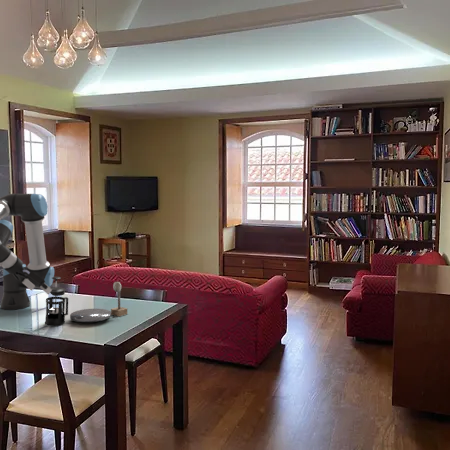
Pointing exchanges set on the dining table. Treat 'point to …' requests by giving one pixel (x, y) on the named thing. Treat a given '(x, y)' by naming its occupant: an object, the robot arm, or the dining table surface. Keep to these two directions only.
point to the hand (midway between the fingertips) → (41, 290)
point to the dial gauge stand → (119, 310)
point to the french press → (55, 314)
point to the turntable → (90, 315)
